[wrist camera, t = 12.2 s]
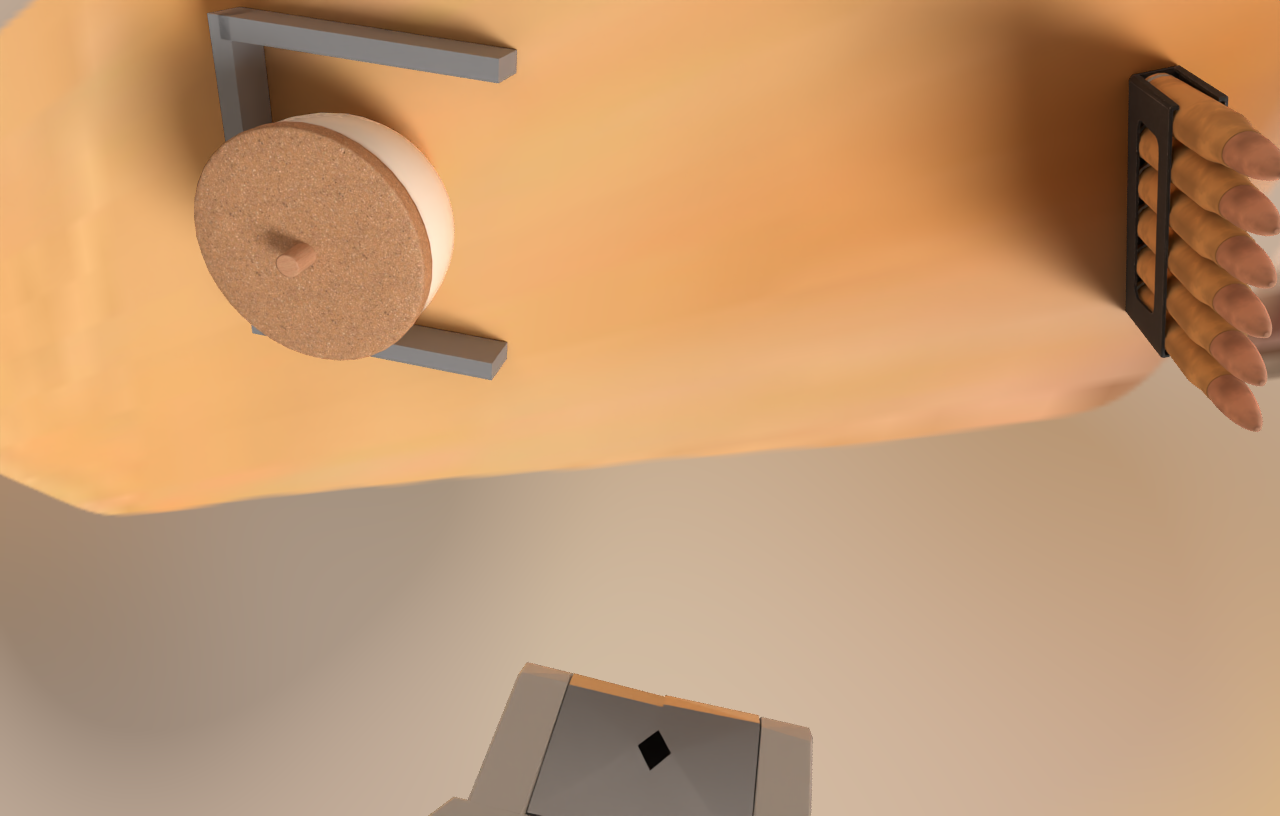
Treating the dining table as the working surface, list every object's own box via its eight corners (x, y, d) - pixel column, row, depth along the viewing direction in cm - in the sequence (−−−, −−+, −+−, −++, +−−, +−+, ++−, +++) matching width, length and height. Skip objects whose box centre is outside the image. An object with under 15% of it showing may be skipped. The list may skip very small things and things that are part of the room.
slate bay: (517, 49, 39) (499, 59, 37) (506, 358, 48) (491, 380, 45) (239, 6, 40) (207, 13, 38) (277, 313, 49) (252, 333, 47)
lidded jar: (251, 114, 43) (120, 164, 35) (442, 66, 40) (346, 109, 32) (336, 309, 48) (239, 392, 40) (512, 279, 45) (444, 362, 37)
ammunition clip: (1128, 74, 35) (1248, 149, 25) (1180, 64, 35) (1324, 135, 24) (1125, 313, 40) (1224, 456, 30) (1170, 307, 39) (1287, 450, 29)
